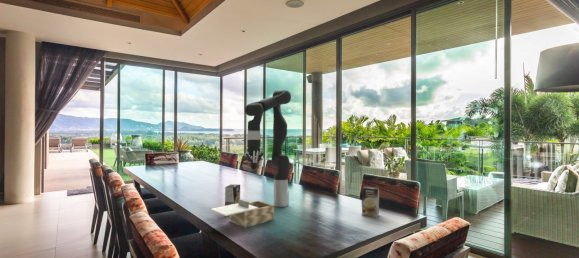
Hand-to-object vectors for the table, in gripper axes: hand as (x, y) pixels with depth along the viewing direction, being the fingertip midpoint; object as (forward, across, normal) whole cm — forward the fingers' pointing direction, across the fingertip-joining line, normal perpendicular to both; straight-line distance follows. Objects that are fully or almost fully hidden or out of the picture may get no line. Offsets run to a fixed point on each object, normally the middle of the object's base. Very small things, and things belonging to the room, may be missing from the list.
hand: (253, 169), depth 167 cm
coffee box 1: (+27, +4, -15) cm, 31 cm away
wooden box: (+27, +4, +5) cm, 28 cm away
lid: (+19, +16, +5) cm, 25 cm away
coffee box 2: (+27, -53, +43) cm, 73 cm away
